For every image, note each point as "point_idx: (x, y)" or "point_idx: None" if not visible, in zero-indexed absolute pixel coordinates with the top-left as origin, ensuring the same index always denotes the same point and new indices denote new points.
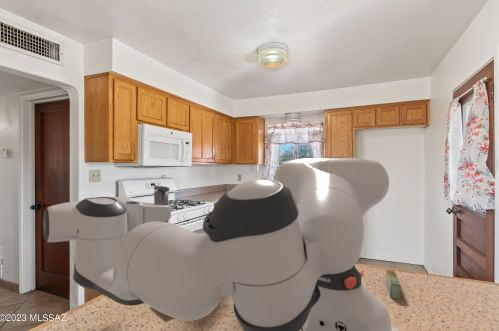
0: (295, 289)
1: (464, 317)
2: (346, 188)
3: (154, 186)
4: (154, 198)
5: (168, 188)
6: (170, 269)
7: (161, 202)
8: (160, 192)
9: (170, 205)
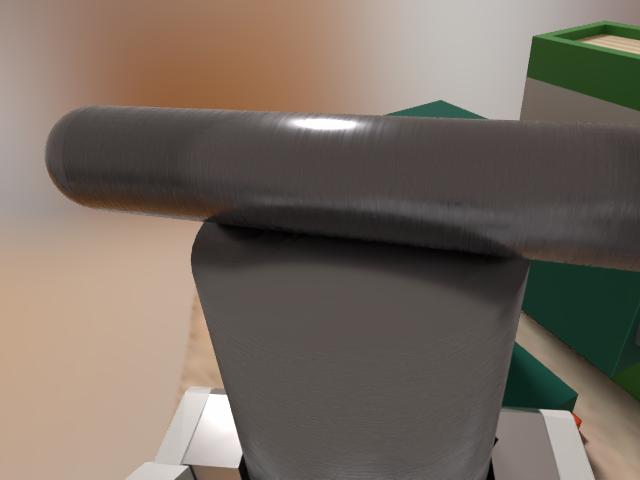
0: None
1: None
2: None
3: (62, 140)
4: (297, 468)
5: None
6: None
7: (481, 474)
8: (500, 328)
9: (571, 414)
